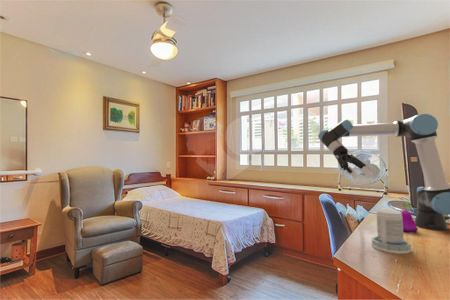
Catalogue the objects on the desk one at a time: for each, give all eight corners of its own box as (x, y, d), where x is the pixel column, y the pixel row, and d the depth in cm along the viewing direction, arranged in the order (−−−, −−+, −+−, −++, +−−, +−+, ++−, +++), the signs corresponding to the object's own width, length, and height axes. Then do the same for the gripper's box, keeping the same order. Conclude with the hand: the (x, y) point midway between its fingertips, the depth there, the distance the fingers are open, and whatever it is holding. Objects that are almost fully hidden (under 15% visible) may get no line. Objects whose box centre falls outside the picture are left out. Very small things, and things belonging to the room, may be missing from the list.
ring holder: (392, 242, 116) (392, 235, 117) (419, 253, 103) (418, 245, 103) (365, 243, 115) (364, 236, 115) (388, 254, 101) (388, 247, 101)
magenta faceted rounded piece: (418, 234, 129) (417, 205, 130) (393, 231, 135) (392, 203, 136) (416, 229, 139) (415, 202, 139) (392, 226, 145) (391, 200, 145)
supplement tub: (407, 246, 107) (406, 212, 108) (397, 250, 102) (397, 214, 103) (383, 240, 115) (382, 208, 116) (373, 243, 110) (372, 210, 111)
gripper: (346, 154, 154) (372, 180, 141) (320, 154, 142) (345, 182, 128) (354, 145, 150) (381, 171, 136) (328, 144, 137) (354, 172, 124)
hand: (364, 176), depth 132 cm, fingers open, 13 cm apart
